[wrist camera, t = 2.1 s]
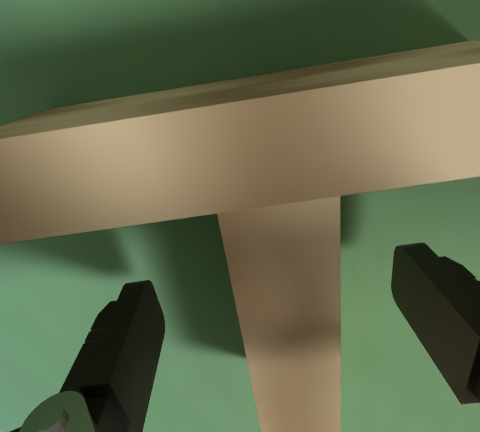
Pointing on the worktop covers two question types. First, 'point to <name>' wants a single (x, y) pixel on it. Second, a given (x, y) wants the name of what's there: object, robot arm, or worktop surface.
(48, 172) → the wooden pusher
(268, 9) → the worktop surface
